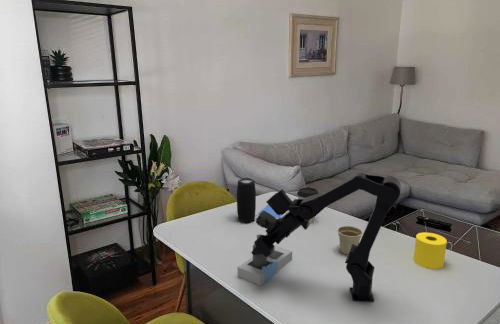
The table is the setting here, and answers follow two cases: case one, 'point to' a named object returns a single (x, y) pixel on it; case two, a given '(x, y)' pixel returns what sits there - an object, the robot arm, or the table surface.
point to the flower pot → (348, 237)
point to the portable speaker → (246, 200)
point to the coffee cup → (306, 193)
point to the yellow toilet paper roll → (430, 250)
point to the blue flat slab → (271, 212)
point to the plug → (259, 259)
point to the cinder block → (267, 272)
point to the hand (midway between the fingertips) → (255, 249)
